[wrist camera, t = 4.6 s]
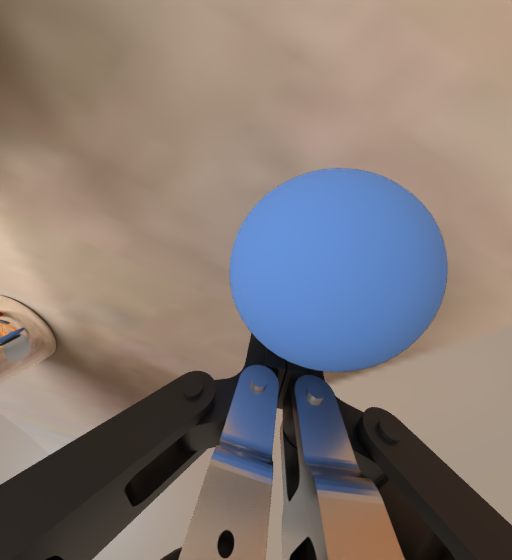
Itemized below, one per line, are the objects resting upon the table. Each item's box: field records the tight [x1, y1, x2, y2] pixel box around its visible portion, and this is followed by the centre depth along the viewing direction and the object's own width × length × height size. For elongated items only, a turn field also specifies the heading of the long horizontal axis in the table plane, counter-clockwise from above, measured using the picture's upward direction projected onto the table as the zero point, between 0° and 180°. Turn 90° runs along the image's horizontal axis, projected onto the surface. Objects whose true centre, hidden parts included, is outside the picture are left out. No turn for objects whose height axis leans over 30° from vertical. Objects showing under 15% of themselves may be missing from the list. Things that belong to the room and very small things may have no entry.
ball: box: [230, 168, 447, 372], centre depth 6 cm, size 6×6×6 cm
